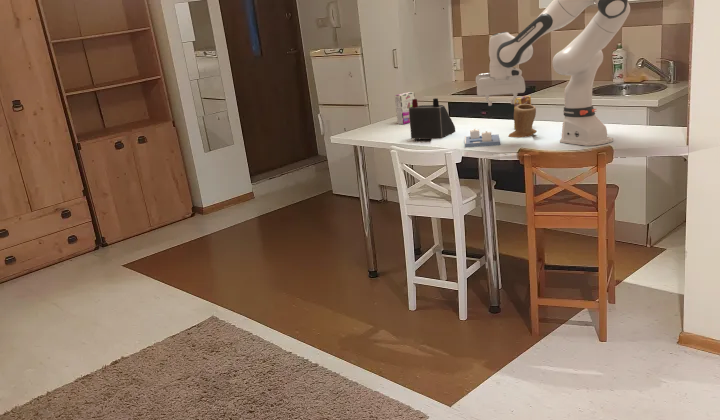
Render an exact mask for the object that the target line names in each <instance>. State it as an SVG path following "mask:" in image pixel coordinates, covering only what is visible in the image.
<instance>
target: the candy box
mask: <svg viewBox="0 0 720 420" xmlns="http://www.w3.org/2000/svg"><path fill="white" fill-rule="evenodd" d="M520 104H530V105H532V96H531V95H523V96H520V97H519V96H517V97H516V99H515V100H514V104H513V106H514V107H513V110H514V109H515V107H516V106H517V105H520ZM513 123H514V124H513V127H514V128H513V129H514V131H515V130H516V127H515V122H514V121H513Z"/></svg>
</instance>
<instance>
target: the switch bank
mask: <svg viewBox="0 0 720 420" xmlns="http://www.w3.org/2000/svg"><path fill="white" fill-rule="evenodd" d="M479 136H480V138H477V139H470V135H469V136H466V135H465V136H464V148H476V147H491V146H501V139H500V135H499V134H491V136H492V141H486V142H482V135H479Z"/></svg>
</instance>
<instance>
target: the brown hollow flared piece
mask: <svg viewBox="0 0 720 420" xmlns="http://www.w3.org/2000/svg"><path fill="white" fill-rule="evenodd" d="M536 114H537V108H536V106H535V105H532V104H531V105H530V104H520V105H517V106H516V107H515V109H514V108H513V123H514V122H515V127H516V130H514V131H512V132H511V133H509V134H508V135H507V136H508V137H509V138H527V137H529V136H533V135H535V134H536V133H537V130H536V129H534V128H533V124H534V121H535V118H536Z"/></svg>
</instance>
